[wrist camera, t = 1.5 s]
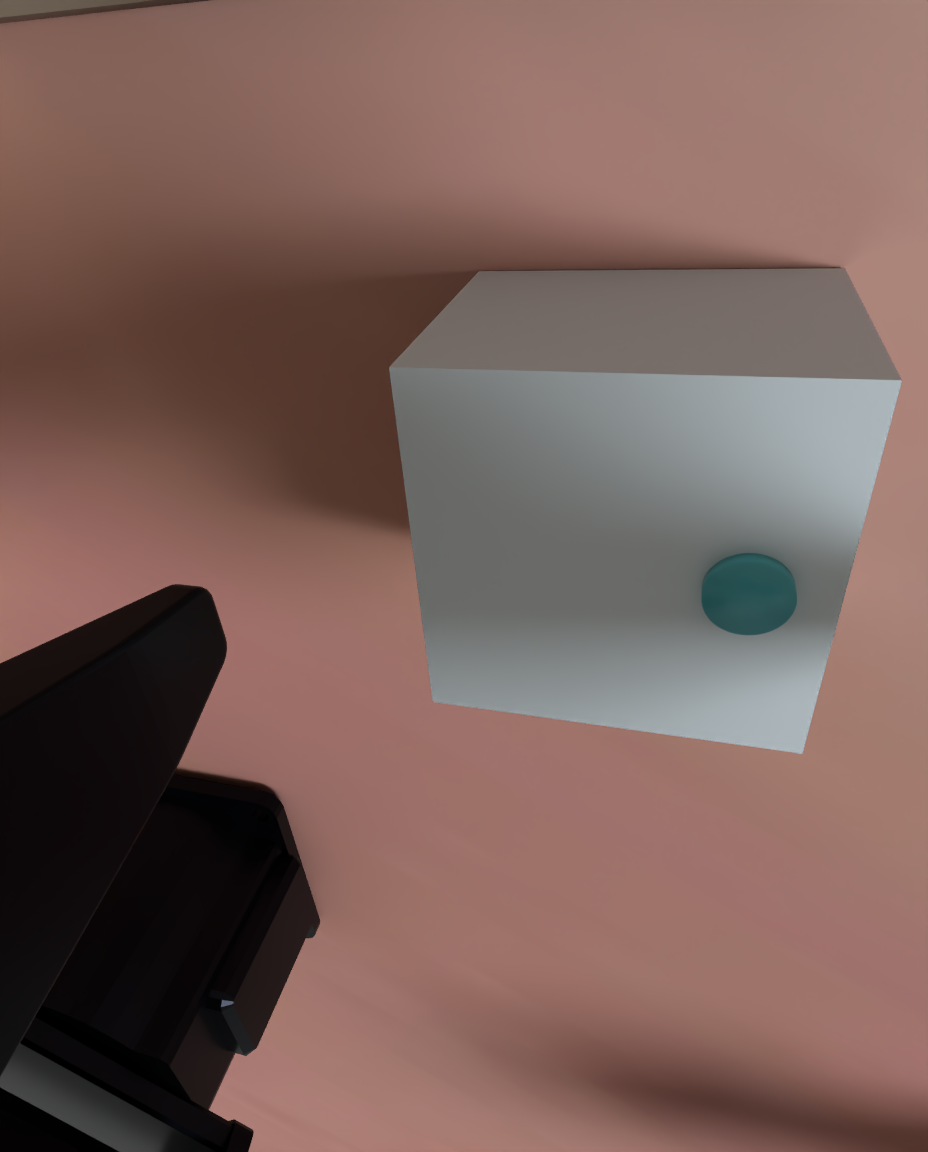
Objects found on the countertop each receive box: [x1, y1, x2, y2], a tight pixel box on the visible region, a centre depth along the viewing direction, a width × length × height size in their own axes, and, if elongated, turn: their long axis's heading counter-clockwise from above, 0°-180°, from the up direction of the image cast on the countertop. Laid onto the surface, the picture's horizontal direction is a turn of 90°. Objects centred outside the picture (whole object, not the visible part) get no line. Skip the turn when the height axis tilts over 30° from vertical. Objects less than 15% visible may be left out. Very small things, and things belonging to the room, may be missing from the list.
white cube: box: [389, 268, 902, 754], centre depth 11 cm, size 5×5×4 cm
